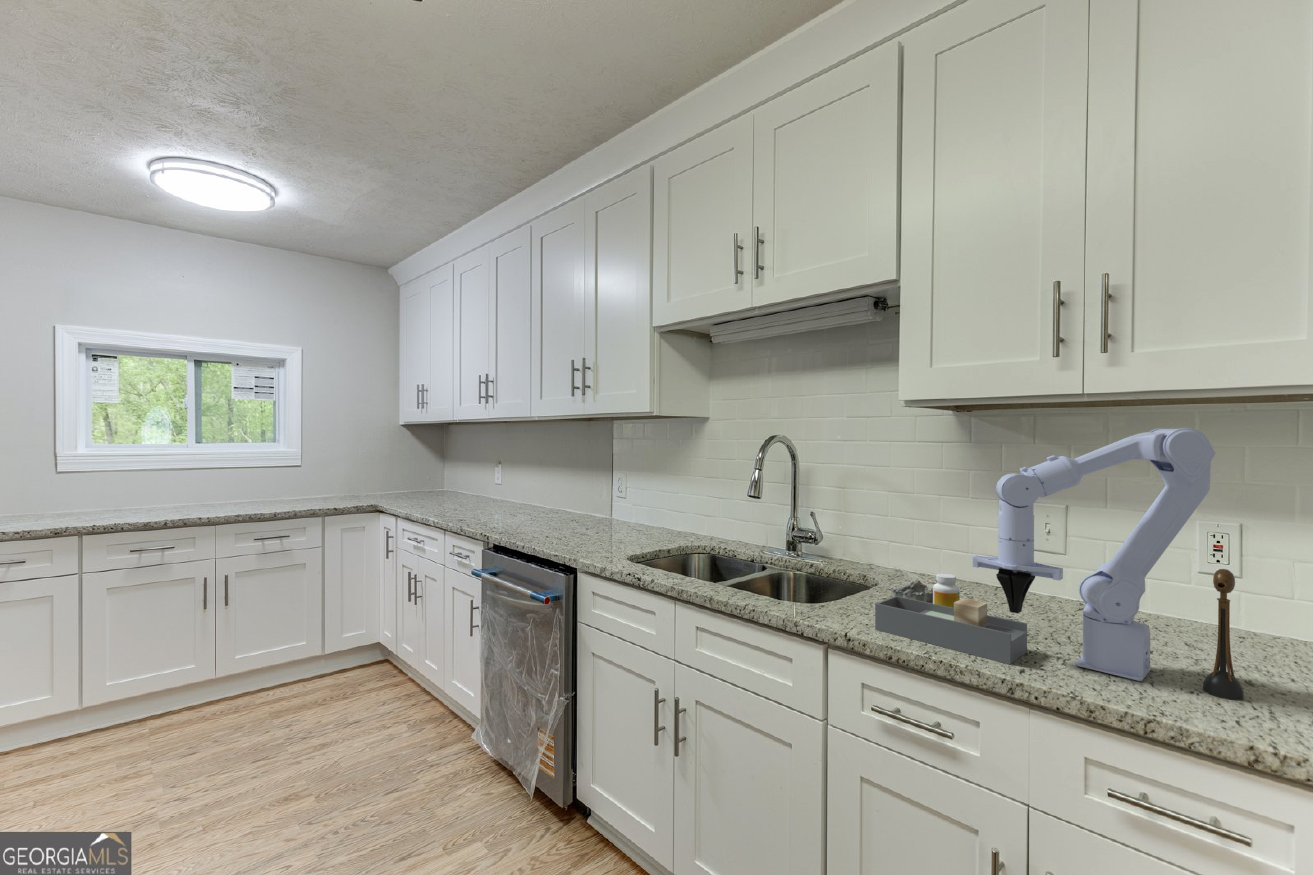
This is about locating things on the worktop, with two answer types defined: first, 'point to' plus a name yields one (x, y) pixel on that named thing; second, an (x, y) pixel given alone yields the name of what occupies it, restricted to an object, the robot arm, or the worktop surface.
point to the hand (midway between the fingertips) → (1015, 611)
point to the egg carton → (914, 592)
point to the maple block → (971, 612)
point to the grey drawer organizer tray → (951, 629)
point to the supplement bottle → (945, 590)
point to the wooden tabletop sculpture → (1223, 644)
